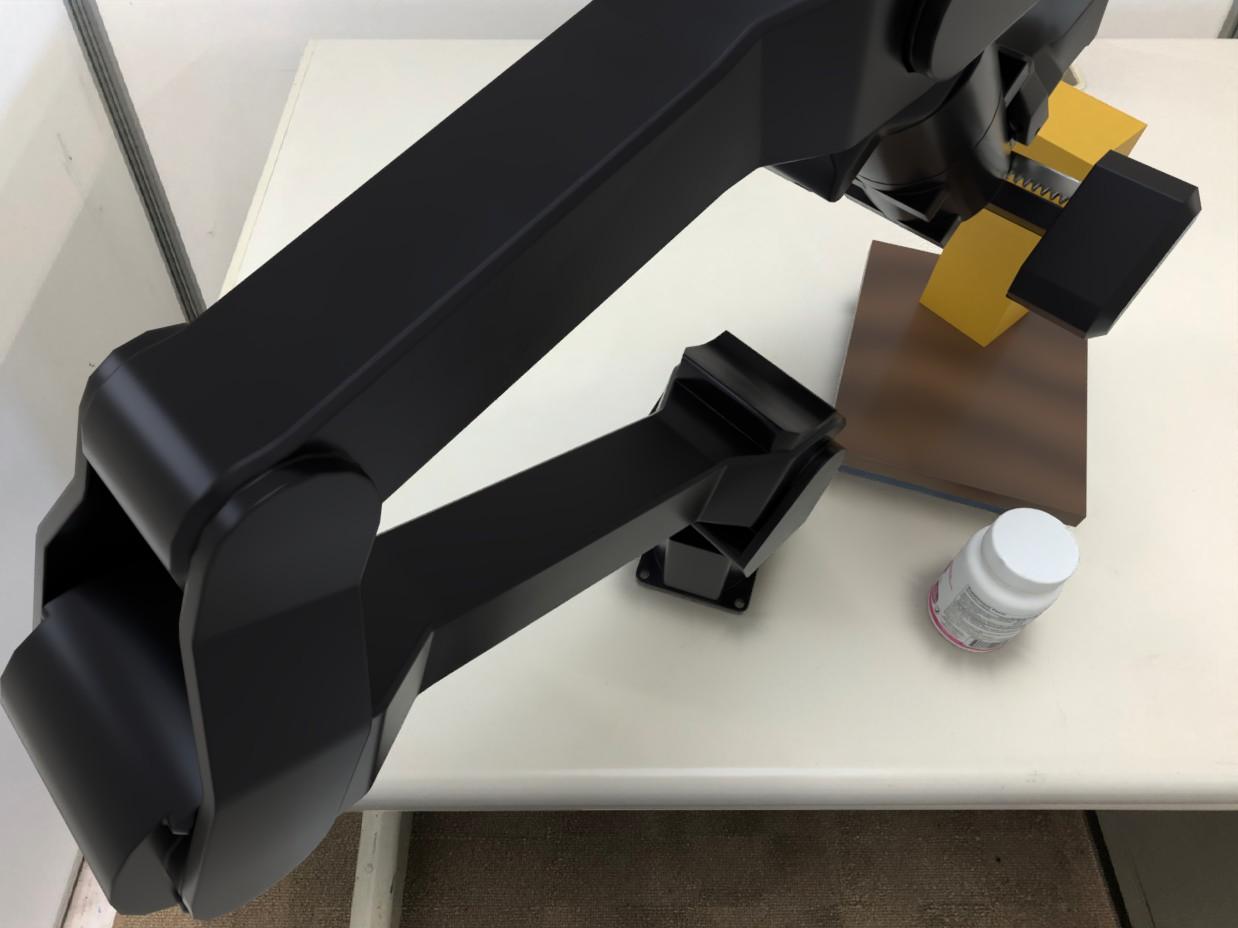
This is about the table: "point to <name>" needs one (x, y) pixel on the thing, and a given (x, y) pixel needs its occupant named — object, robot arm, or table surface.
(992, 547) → the pill bottle
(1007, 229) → the block
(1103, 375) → the table surface
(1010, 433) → the board
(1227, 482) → the table surface
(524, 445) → the table surface
